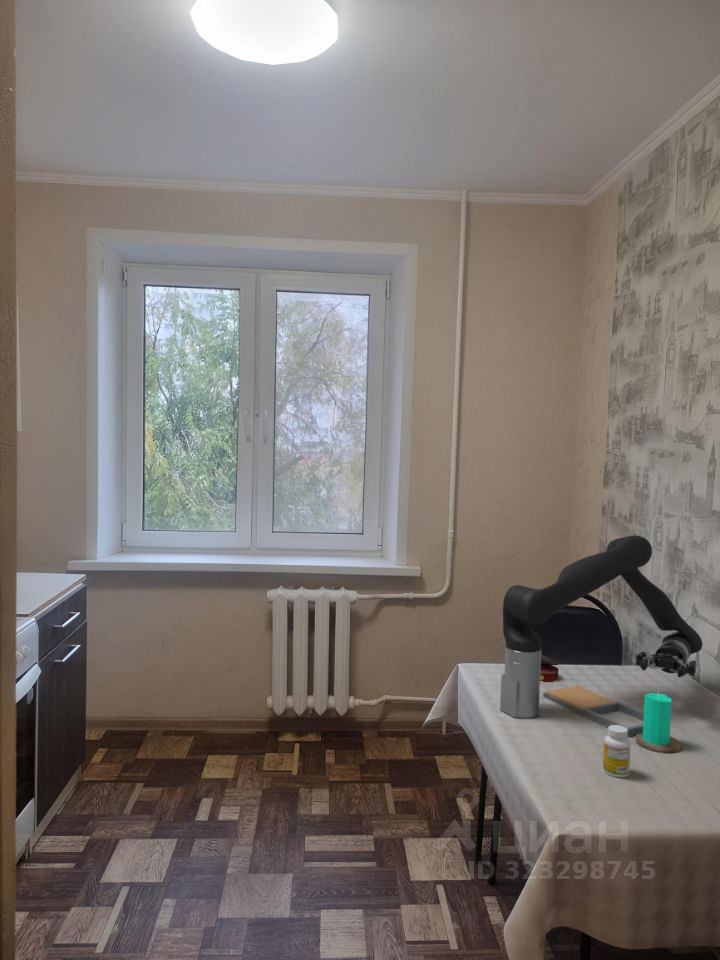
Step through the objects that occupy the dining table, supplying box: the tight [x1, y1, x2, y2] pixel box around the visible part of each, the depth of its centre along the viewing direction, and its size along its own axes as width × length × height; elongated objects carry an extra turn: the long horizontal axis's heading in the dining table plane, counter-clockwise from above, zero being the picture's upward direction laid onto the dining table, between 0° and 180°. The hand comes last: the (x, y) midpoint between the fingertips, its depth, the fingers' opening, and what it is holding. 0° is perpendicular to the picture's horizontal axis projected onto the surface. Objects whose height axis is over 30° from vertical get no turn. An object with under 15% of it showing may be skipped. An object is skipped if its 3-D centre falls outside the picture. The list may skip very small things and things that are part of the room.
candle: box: [642, 690, 673, 745], centre depth 169 cm, size 6×6×12 cm
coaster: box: [635, 733, 682, 754], centre depth 169 cm, size 10×10×1 cm
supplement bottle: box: [602, 725, 631, 778], centre depth 153 cm, size 5×5×10 cm
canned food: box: [540, 654, 559, 683], centre depth 216 cm, size 11×10×10 cm
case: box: [542, 685, 644, 738], centre depth 189 cm, size 13×30×2 cm, turn 27°
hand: (661, 669), depth 180 cm, fingers open, 8 cm apart
